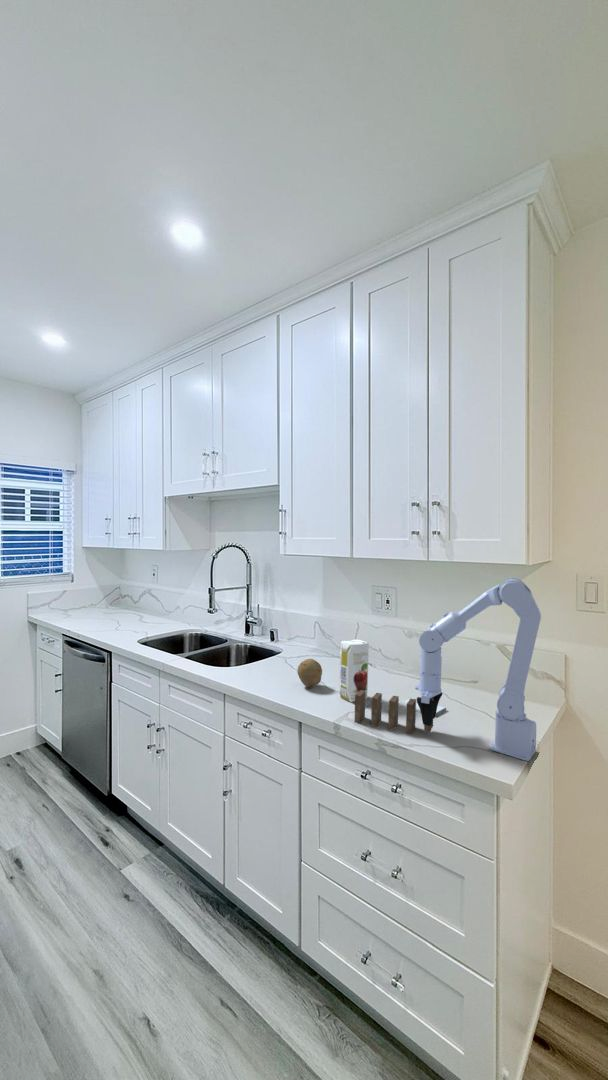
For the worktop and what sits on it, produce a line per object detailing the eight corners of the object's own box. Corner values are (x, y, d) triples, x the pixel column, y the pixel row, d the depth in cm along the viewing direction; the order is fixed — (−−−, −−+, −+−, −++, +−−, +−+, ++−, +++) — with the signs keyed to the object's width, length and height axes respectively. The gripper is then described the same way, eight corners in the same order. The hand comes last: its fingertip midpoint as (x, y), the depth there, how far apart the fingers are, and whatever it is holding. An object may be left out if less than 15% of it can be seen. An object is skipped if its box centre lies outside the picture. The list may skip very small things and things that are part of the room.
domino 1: (364, 717, 140) (365, 690, 140) (359, 723, 135) (360, 695, 135) (359, 716, 141) (360, 689, 141) (354, 722, 136) (355, 694, 136)
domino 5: (433, 725, 132) (433, 697, 132) (429, 732, 127) (430, 703, 127) (427, 724, 132) (428, 696, 132) (424, 731, 128) (424, 702, 128)
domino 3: (397, 723, 136) (398, 696, 136) (393, 730, 131) (394, 701, 131) (392, 722, 136) (393, 695, 136) (388, 729, 132) (388, 700, 132)
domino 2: (381, 720, 138) (381, 693, 138) (376, 726, 133) (377, 698, 133) (375, 719, 139) (376, 692, 138) (371, 725, 134) (371, 697, 134)
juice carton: (336, 696, 157) (337, 640, 157) (356, 692, 162) (357, 638, 162) (350, 703, 151) (351, 645, 151) (370, 699, 156) (372, 642, 155)
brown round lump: (301, 681, 173) (302, 654, 173) (324, 684, 170) (325, 657, 170) (294, 689, 164) (294, 660, 164) (318, 692, 162) (319, 663, 161)
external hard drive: (433, 719, 142) (398, 708, 150) (446, 712, 148) (411, 701, 156) (433, 714, 142) (398, 703, 150) (446, 707, 148) (411, 697, 156)
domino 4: (415, 727, 134) (416, 699, 134) (411, 733, 129) (412, 704, 129) (409, 726, 134) (410, 698, 134) (405, 732, 130) (406, 703, 130)
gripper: (420, 664, 138) (419, 710, 138) (410, 677, 125) (408, 727, 125) (445, 667, 135) (444, 714, 135) (437, 681, 122) (436, 733, 122)
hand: (429, 721), depth 130 cm, fingers closed on domino 5, 5 cm apart
